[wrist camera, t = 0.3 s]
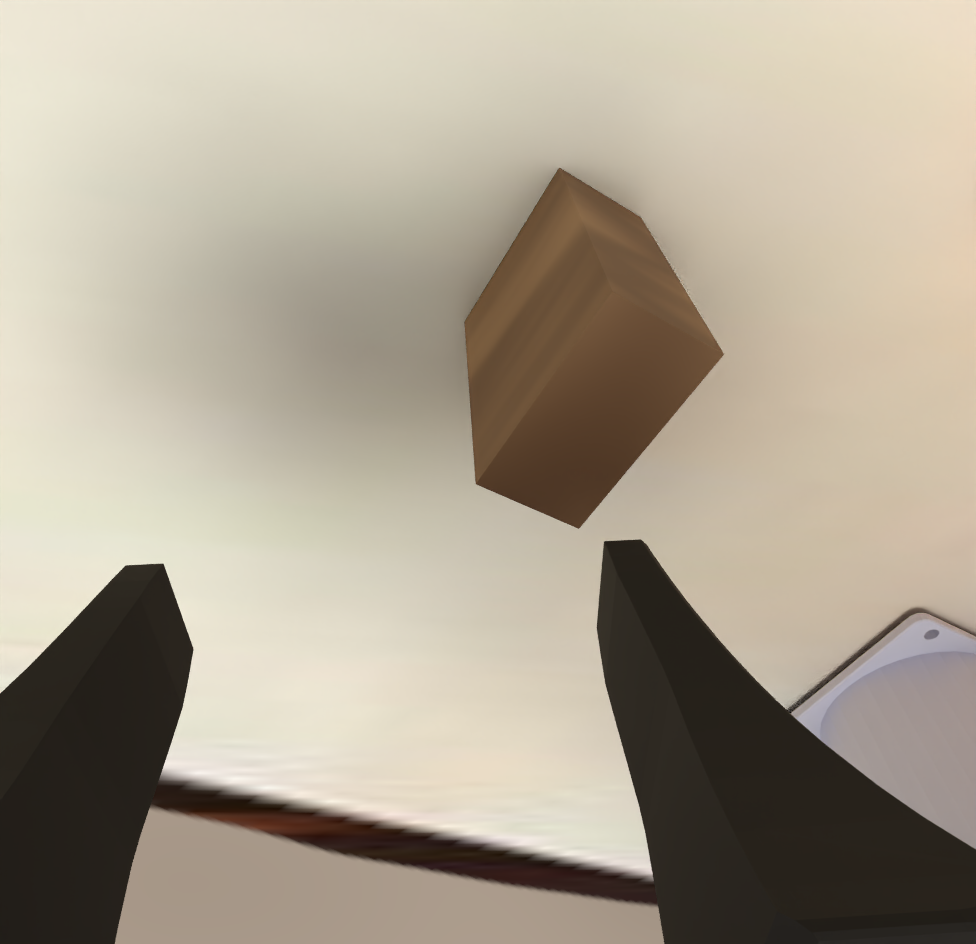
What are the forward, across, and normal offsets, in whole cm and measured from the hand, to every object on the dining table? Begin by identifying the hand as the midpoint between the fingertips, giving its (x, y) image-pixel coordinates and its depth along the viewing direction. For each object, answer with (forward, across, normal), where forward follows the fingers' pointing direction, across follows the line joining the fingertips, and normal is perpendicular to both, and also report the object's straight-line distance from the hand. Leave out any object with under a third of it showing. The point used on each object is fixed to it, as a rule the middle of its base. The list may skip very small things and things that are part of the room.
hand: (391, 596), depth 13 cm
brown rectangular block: (+10, -4, -2) cm, 10 cm away
